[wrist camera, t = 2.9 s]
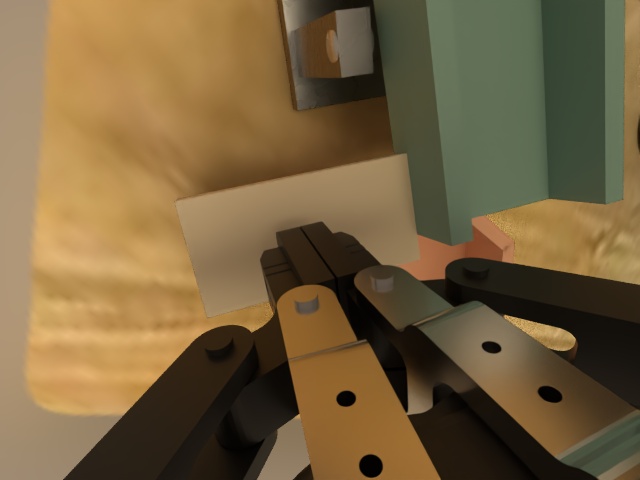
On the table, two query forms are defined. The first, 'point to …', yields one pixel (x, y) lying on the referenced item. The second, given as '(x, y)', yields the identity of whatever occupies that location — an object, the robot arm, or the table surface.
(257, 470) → the robot arm
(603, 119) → the chute
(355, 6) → the chute stand
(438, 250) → the pink octagonal bowl
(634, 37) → the table surface
